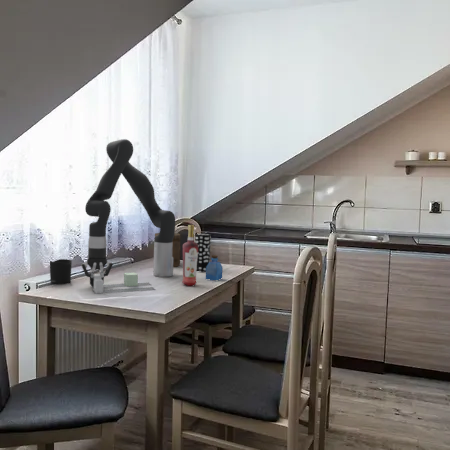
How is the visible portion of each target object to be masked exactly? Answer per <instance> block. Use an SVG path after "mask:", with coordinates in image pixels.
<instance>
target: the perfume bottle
mask: <svg viewBox="0 0 450 450" xmlns="http://www.w3.org/2000/svg"><path fill="white" fill-rule="evenodd" d="M218 256H219V255H217V254H212V255H211V257H210V262H209V263H208V265H207V266H206V272H205V280H206V279H210V280H209V281H213V280H218V281H220V280H219V279H221V278H222V279H223V268H224V267H223V266H222V263H221V262H220V261H219V258H218ZM222 279H221V280H222Z"/></svg>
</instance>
